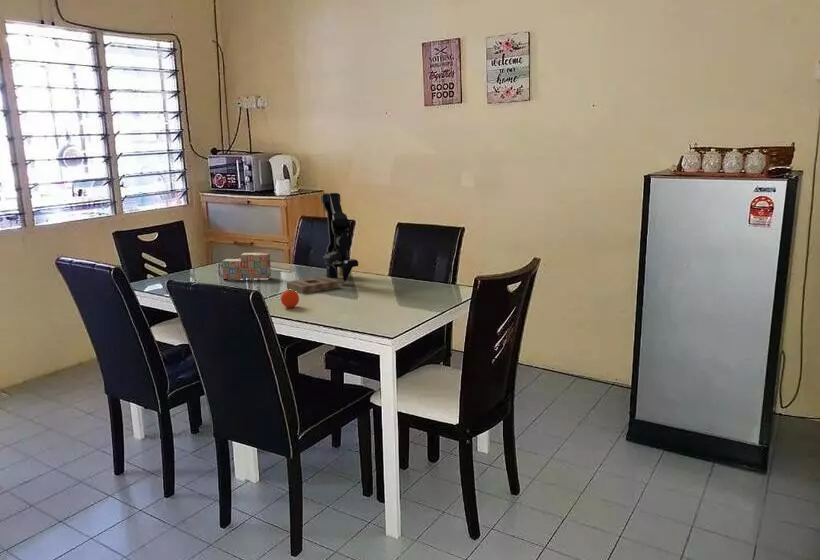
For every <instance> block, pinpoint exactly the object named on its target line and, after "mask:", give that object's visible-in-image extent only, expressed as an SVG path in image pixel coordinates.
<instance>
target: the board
mask: <svg viewBox="0 0 820 560" xmlns="http://www.w3.org/2000/svg"><path fill="white" fill-rule="evenodd" d="M287 288H289V289H292V290H294V291H295V290H297V291H298V292H299V294H301V293H302V294H301V295H304V294H303V293H306V294H310V293H309V292H312V293H316V292H315V291H318V292H322V291H321V290H324V291H329V290H328V289H330V290H333V289H334V288H335V289H340V285H339V281H338V280H336V279H334V278H331V277H327V276H326V277H325V276H317V277H316V276H315V277H309V278H304V279H298V280H297V279H296V280H290V281H286V289H287ZM289 289H288V290H289ZM298 292H297V293H298Z"/></svg>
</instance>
